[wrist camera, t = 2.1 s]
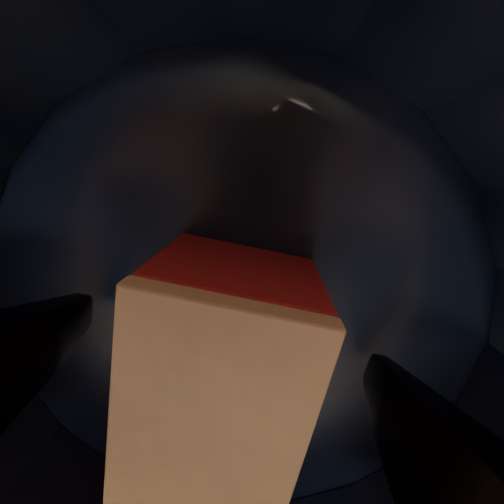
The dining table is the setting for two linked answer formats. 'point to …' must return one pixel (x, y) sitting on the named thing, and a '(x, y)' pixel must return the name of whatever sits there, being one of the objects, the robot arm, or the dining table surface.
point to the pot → (257, 196)
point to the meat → (216, 374)
